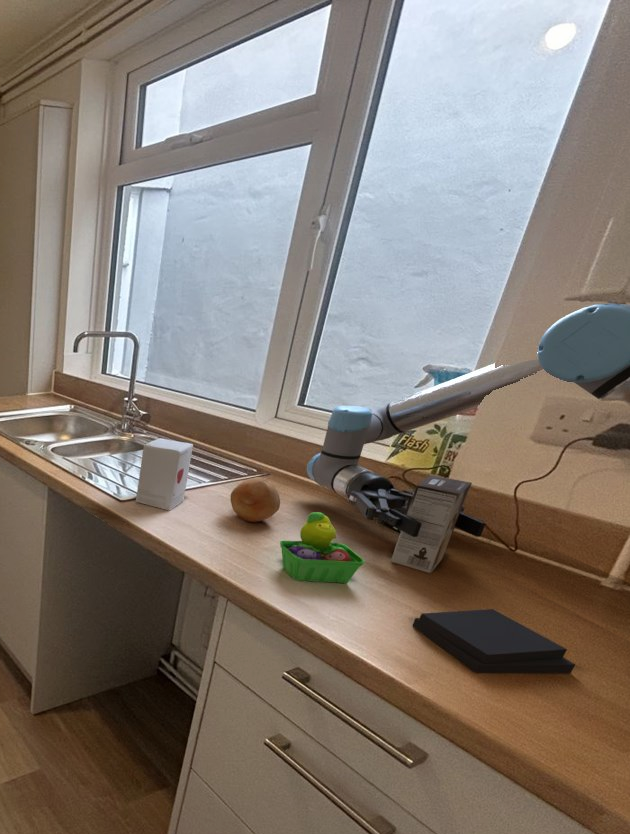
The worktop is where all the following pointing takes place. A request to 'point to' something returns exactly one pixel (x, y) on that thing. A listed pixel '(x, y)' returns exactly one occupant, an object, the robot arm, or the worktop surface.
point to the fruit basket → (319, 553)
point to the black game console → (493, 642)
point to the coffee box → (431, 522)
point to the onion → (255, 499)
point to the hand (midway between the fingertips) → (449, 530)
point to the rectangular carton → (164, 473)
